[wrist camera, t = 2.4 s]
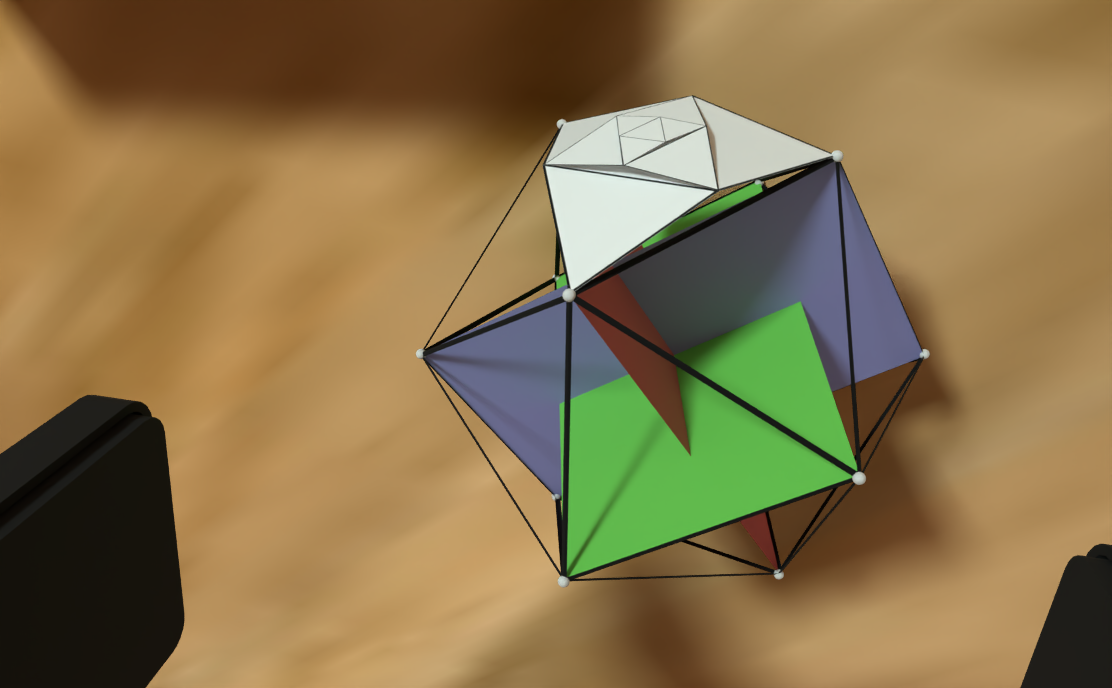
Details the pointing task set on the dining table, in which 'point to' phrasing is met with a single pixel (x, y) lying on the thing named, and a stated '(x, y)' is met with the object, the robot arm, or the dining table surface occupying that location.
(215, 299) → the dining table surface
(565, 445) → the geometric puzzle
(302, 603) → the dining table surface
